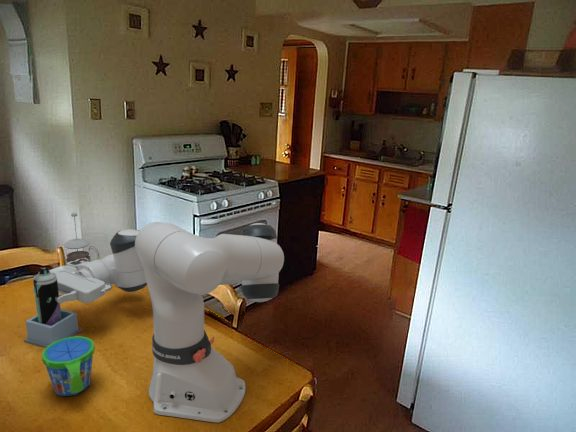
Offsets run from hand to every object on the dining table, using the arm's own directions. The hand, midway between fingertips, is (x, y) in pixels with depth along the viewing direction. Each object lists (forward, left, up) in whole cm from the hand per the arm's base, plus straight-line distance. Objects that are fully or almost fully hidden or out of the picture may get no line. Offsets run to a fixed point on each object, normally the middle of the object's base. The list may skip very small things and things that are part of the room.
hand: (45, 295), depth 111 cm
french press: (+19, -32, -13) cm, 39 cm away
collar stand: (0, -1, -13) cm, 13 cm away
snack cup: (-20, +13, -13) cm, 27 cm away
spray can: (0, 0, -12) cm, 12 cm away
